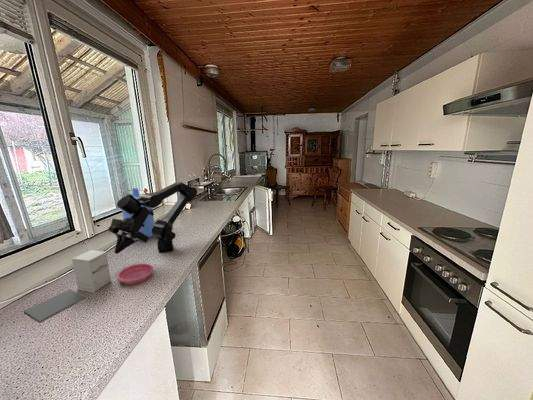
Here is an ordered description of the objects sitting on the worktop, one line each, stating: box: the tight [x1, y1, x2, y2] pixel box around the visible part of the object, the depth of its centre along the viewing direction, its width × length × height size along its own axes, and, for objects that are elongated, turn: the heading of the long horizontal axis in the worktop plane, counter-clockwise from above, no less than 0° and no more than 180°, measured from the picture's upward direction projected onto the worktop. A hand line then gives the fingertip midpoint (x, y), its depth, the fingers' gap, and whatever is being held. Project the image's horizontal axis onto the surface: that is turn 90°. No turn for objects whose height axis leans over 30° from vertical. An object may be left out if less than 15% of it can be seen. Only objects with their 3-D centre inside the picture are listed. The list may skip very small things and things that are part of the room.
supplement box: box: [71, 249, 112, 293], centre depth 82 cm, size 7×7×13 cm
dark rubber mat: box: [23, 289, 87, 323], centre depth 74 cm, size 12×10×1 cm
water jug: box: [121, 188, 156, 241], centre depth 128 cm, size 16×16×28 cm
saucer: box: [116, 263, 154, 286], centre depth 89 cm, size 12×12×3 cm
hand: (115, 253), depth 90 cm, fingers closed
